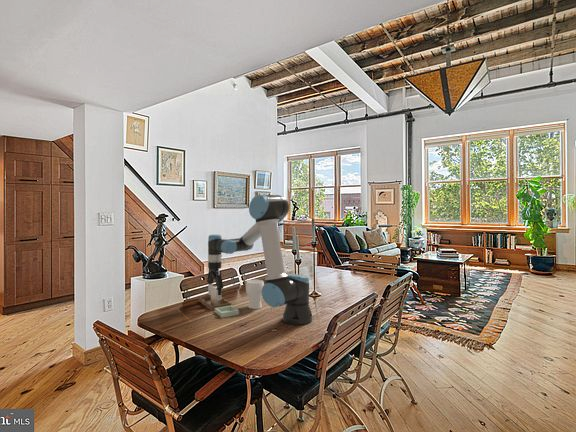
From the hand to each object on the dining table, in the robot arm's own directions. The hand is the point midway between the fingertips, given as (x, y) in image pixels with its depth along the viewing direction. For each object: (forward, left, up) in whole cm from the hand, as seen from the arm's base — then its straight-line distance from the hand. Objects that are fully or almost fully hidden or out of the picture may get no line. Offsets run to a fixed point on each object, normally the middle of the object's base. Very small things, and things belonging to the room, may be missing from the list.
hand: (214, 297), depth 197 cm
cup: (-16, -18, -5) cm, 25 cm away
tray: (0, 0, -5) cm, 5 cm away
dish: (-18, 0, -5) cm, 19 cm away
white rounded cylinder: (0, 0, -4) cm, 4 cm away
